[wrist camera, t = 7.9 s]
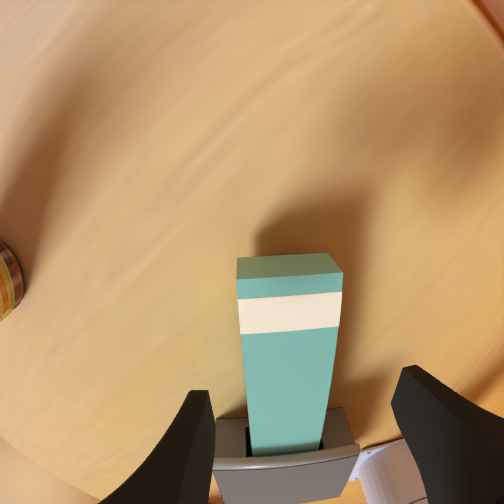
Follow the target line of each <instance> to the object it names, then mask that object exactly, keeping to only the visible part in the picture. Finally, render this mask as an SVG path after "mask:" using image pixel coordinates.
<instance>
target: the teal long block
mask: <svg viewBox="0 0 504 504" xmlns="http://www.w3.org/2000/svg"><path fill="white" fill-rule="evenodd" d="M342 283H343V271H342V270H341V269H340V268H339V266H338V265H337V264H336V263H335V261H334V260H333V259H332V258H331V256H330V255H329V254H328V253H327V252H326V253H310V254H293V255H276V256H259V257H242V258H237V292H238V310H239V322H240V334H241V340H242V352H243V363H244V374H245V385H246V396H247V406H248V416H249V426H250V436H251V446H252V455H253V457H262V456H276V455H286V454H295V453H303V452H311V451H318V449H319V444H320V439H321V434H322V430H323V425H324V419H325V414H326V409H327V403H328V397H329V391H330V385H331V379H332V372H333V365H334V358H335V351H336V343H337V335H338V326H339V321H340V312H341V301H342Z"/></svg>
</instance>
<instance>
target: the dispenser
mask: <svg viewBox="0 0 504 504" xmlns="http://www.w3.org/2000/svg"><path fill="white" fill-rule="evenodd" d="M215 424H216V439H215V455H214V462H213V469H212V471H213V474H214V477H215V480H216V482H217V485H218V488H219V490H220V493H221V496H222V498H223V501H224V503H225V504H300V503H307V502H313V501H320V500H325V499H331V498H336V497H340V495H341V493H342V491H343V489H344V487H345V485H346V483H347V481H348V479H349V477H350V475H351V472H352V470H353V468H354V466H355V464H356V461H357V459H358V457H359V454H360V445H359V443H355V442H354V439H353V436H352V433H351V430H350V427H349V424H348V422H347V419H346V416H345V413H344V410H343V407H342V408H336V409H330V410H326V414H325V419H324V425H323V430H322V434H321V439H320V444H319V449H318V451H311V452H303V453H295V454H286V455H276V456H262V457H253V455H252V446H251V436H250V426H249V418H233V419H216V423H215Z"/></svg>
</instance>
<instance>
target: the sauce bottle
mask: <svg viewBox="0 0 504 504" xmlns="http://www.w3.org/2000/svg"><path fill="white" fill-rule="evenodd" d="M23 294H24V284H23V276H22V273H21V268H20V267H19V264H18V261H17V260H16V258H15V256H14V255H13V254H12V252H11V251H10V250H9V248H8V247H6V245H5V244H4V243H3V242H1V241H0V322H1V321H2V320H3V319H4V318H6V317H7V316H8V315H9V314H10V313H11V311H12V310H13V309H15V308H16V307H17V306H18V305H19V304H20V302H21V300H22V298H23Z"/></svg>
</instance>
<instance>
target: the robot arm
mask: <svg viewBox="0 0 504 504" xmlns="http://www.w3.org/2000/svg"><path fill="white" fill-rule="evenodd" d="M391 406H392V409H393V412H394V416H395V419H396V421H397V424H398V427H399V429H400V431H401V433H402V435H403V437H404V438H403V439H400V440H397V441H394V442H390V443H387V444H383V445H379V446H375V447H372V448H368V449H364V450H362V451H361V452H360V454H359V457H358V459H357V461H356V464H355V466H354V468H353V470H352V472H351V475H350V477H349V481H353V480H357V479H360V481H361V485H362V488H363V491H364V494H365V498H366V501H367V504H504V418H502V417H499V416H497V415H495V414H493V413H491V412H488V411H486V410H484V409H482V408H481V407H479V406H477V405H475V404H474V403H472V402H470V401H469V400H467V399H465V398H464V397H462V396H461V395H459V394H458V393H456V392H455V391H453V390H452V389H450V388H449V387H447V386H446V385H444V384H443V383H442V382H440V381H439V380H437V379H436V378H435V377H433V376H432V375H430V374H429V373H428V372H426V371H425V370H423V369H422V368H420V367H419V366H417V365H412V366H408V367H404V368H403V369H402V372H401V375H400V378H399V381H398V384H397V387H396V390H395V393H394V395H393V398H392V401H391ZM215 439H216V424H215V420H214V415H213V411H212V406H211V401H210V397H209V392H208V390H191V391H189V392H188V394H187V397H186V399H185V400H184V402H183V404H182V406H181V408H180V410H179V412H178V413H177V415H176V417H175V418H174V420H173V422H172V423H171V425H170V426H169V428H168V430H167V431H166V433H165V434H164V436H163V437H162V439H161V440H160V441H159V443H158V444H157V445H156V447H155V448H154V449H153V451H152V452H151V453H150V455H149V456H148V457H147V458H146V460H145V461H144V462H143V463H142V464H141V465H140V466H139V468H138V469H137V470H136V471H135V472H134V473H133V474H132V475H131V476H130V477H129V478H128V479H127V480H126V481H125V482H124V483H123V484H122V485H121V486H120V487H118V488H117V489H116V490H115V491H114V492H113V493H111V494H110V495H109V496H107V497H106V498H105V499H103V500H102V501H101V502H100V503H98V504H208V499H209V491H210V484H211V476H212V469H213V462H214V455H215Z"/></svg>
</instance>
